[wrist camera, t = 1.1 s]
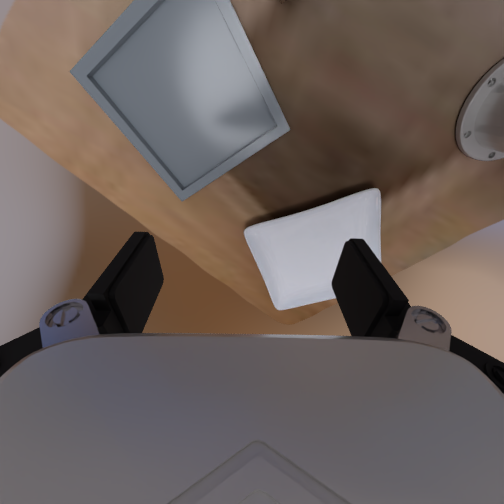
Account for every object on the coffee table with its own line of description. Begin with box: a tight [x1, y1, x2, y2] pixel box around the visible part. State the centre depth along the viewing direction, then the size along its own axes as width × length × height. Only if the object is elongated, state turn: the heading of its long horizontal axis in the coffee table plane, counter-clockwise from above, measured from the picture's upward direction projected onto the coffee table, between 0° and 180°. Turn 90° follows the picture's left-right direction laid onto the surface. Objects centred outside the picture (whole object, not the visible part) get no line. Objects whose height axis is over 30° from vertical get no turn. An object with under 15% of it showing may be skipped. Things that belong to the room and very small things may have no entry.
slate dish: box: [70, 0, 290, 201], centre depth 28 cm, size 18×18×2 cm
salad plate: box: [244, 188, 381, 310], centre depth 41 cm, size 21×21×3 cm
